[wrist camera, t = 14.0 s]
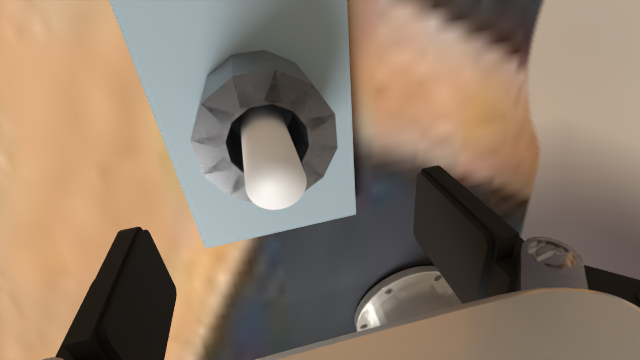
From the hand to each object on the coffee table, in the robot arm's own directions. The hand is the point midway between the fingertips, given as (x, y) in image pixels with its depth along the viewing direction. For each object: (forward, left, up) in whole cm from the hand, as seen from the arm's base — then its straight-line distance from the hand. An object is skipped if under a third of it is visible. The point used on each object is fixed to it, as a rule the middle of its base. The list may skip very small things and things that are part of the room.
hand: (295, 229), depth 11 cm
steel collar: (0, -1, -11) cm, 11 cm away
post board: (0, -1, -13) cm, 13 cm away
